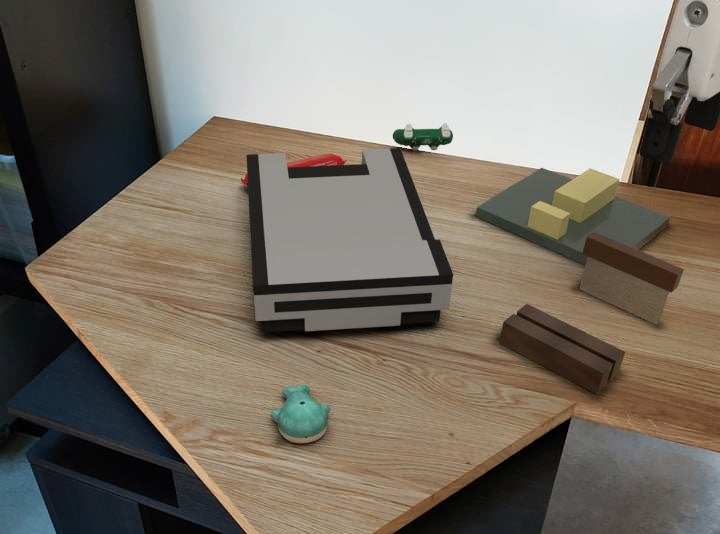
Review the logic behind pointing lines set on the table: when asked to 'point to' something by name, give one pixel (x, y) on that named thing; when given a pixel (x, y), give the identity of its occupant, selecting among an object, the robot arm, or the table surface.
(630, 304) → the bench scraper
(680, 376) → the table surface
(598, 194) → the butter stick
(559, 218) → the butter pat
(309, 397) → the whale figurine
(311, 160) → the candy bar
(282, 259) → the game console
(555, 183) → the cutting board
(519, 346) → the block
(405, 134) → the gaming controller
